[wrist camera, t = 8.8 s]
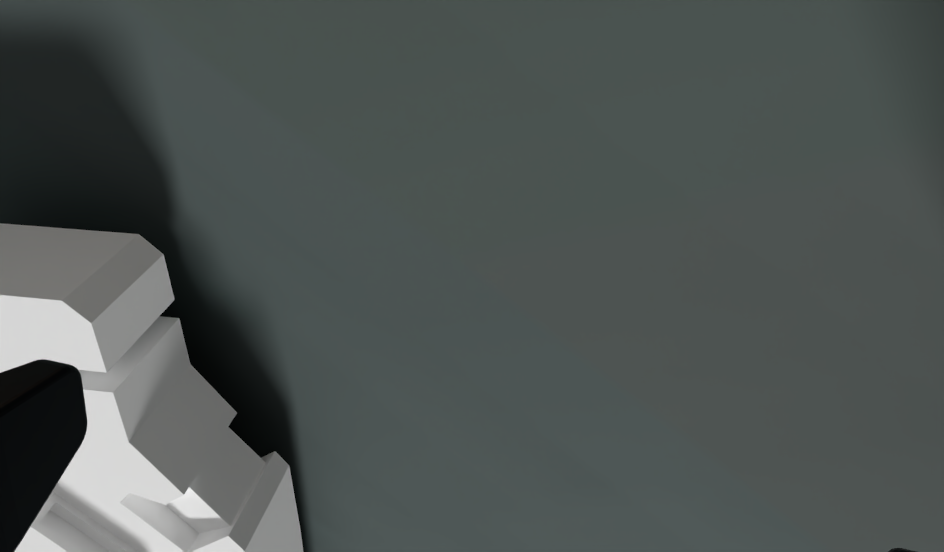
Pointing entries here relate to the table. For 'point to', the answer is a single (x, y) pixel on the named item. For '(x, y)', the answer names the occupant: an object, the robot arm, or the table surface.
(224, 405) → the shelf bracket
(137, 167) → the table surface
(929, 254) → the table surface
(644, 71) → the table surface
